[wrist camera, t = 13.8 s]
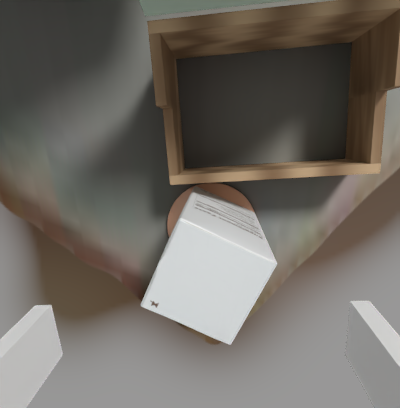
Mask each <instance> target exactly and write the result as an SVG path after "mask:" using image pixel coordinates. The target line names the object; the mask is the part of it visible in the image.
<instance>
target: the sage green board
mask: <svg viewBox="0 0 400 408" xmlns="http://www.w3.org/2000/svg"><path fill="white" fill-rule="evenodd" d="M139 1H140V4H141V7H142V9H143V12H144V15H145V16H153V15H162V14H171V13H180V12H189V11H198V10H206V9H215V8H224V7H233V6H242V5H251V4H260V3H269V2H278V1H287V0H139Z"/></svg>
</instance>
